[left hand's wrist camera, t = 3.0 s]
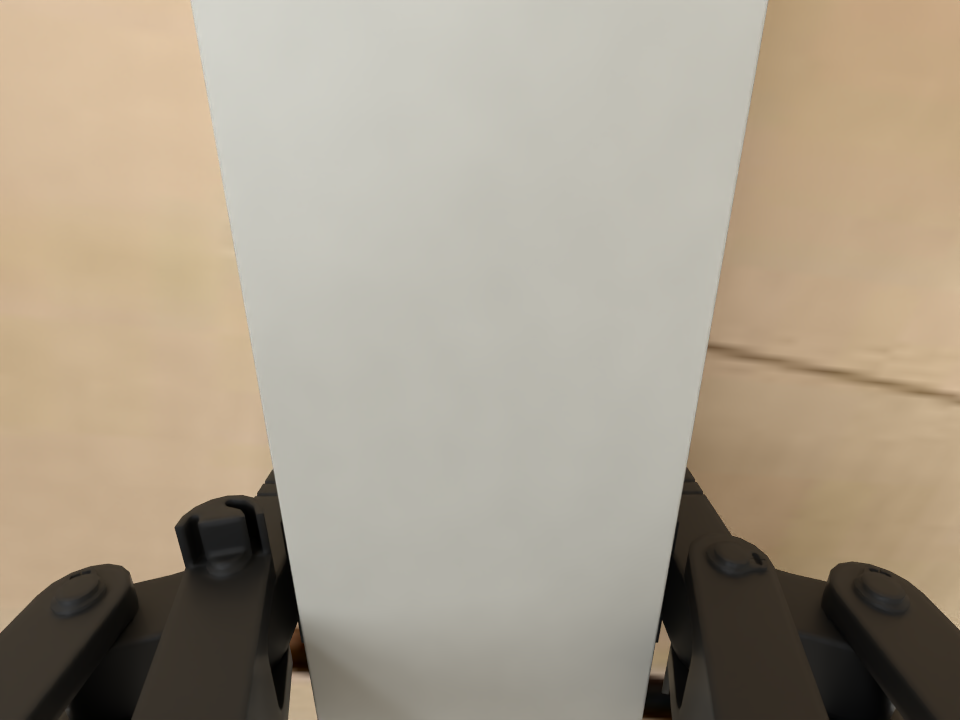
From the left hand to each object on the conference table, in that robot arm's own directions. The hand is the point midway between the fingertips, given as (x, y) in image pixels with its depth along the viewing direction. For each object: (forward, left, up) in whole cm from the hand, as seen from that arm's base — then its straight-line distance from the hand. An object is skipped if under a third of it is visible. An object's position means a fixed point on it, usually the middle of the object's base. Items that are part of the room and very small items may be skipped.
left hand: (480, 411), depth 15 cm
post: (+15, +17, -1) cm, 23 cm away
